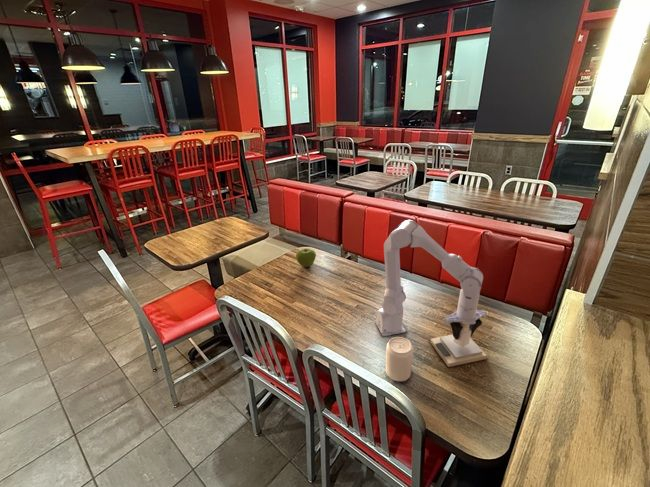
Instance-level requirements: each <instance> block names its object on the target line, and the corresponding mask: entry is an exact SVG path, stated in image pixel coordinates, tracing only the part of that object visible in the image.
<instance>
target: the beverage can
mask: <svg viewBox="0 0 650 487" xmlns="http://www.w3.org/2000/svg"><path fill="white" fill-rule="evenodd" d="M385 349H386V350H385V374H386V375H387V377H388V378H389V379H391V380H392V381H395V382H405V381H407V380H408V379H409V378H410V377H411V375H412V364H413V354H414V347H413V345H412V343H411V341H410V340H409V339H407V338H405V337H402V336H394V337H392V338H390V339H389V340H388V342H387V344H386V348H385Z"/></svg>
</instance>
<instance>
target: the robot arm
mask: <svg viewBox="0 0 650 487" xmlns="http://www.w3.org/2000/svg"><path fill="white" fill-rule="evenodd" d="M408 246H410V247H409V248H422V249H423V250H425V251H426V252H427V253H428V254H430V255H432V256H433V257H434V258H435V259H437V260H438V261H439V262H440V263H441V268H442V269H443V270H445V271H446V272H447V273H448V274H449V275H451V276H452V278H454V279H455V280H457V281H458V282H459V283H460V284H459V285H460V288H461V289H460V290H459V297H458V302H457V308H456V311H454V312H452V313H450V314H449V315H447V316H444V317H443V322H444V323H445V325H446V326H449V325H450V327H451V332H452V335H453V337H454V338H455V339H456V340H458V339H459V335H460V332H461V330H462V329H463V327H462V326H461V325H460V322H464V323H469V324H470V326H469V328H470V329H471V336H470V338H472V336H473V335H474V333H475V331H476V330H477V329H478V328H479V327H480V326H482V324H483V321H482V320H481V318H483V319H486V318H487V315H488V312H487V311H486V310H484V309H478V306H479V302H480V301H479V300H480V295H481V294H480V293H481V290H482V285H483V281H484V274H483V272H482V271H481V269H479V268H478V267H473V266H471V265H469V264H468V263H466V262H465V260H463V257H462V256H461V255H457V254H455V253H449V252H447V251H446V250H445V248H443V247H442V246H441V245H440V244H439V243H437V242H436V240H435V239H434V238H432V237H431V236H430V234H428V233H427V232H426V230H425V229H424V228H423V226H421V225H419V224H418V223H417V222H416V221H415V220H412V219H406V220H404V221H402V222H401V223H400V224H398V225H397V226H396V228H395V229H394V230H392V232H390V233H389V235H388V236H387V238H386V240H385V241H384V243H383V255H384V256H383V257H384V270H385V272H384V274H385V291H384V293H383V301H382V302H381V308H379V309H378V310H377V311H376V322H375V324H376V326H377V328H378V330H379V332H380V334H381V335H382V337H387V336H391V335H398V334H403V333H406V332H407V330H406V328H405V326H404V325H403V321H404V320H403V318H404V304H403V303H404V302H405V301H406V299H407V295H406V293H405V291H404V286H402V283H401V258H400V257H401V256H400V249H402V248H405V247H408Z"/></svg>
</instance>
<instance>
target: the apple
mask: <svg viewBox="0 0 650 487" xmlns="http://www.w3.org/2000/svg"><path fill="white" fill-rule="evenodd" d="M316 257H317V253H316V251H315V250H314V249H312V248H309V247H306V248H305V247H304V248H301V249H299V250H297V252H296V254H295V258H296V261H297V262H298V265H300V266H302V267H305V268H309V267H311V266H312V265H314V262H315V260H316Z"/></svg>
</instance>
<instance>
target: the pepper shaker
mask: <svg viewBox="0 0 650 487" xmlns="http://www.w3.org/2000/svg"><path fill="white" fill-rule="evenodd" d="M460 325H461V326H462V327H463V329H462V330H461V332H460V335H459V339H458V340H456V339H455V338H454V339H453V341H454V342H455V343H456V344H457V345H459V346H460V347H464V346H466V345H468V344H469V342H470V338H471V337H472V336H471V329H470V328H469V326H470V324H469V323H464V322H460ZM470 336H471V337H470Z"/></svg>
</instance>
